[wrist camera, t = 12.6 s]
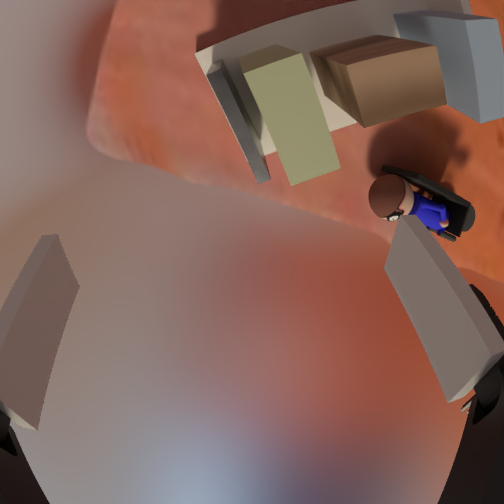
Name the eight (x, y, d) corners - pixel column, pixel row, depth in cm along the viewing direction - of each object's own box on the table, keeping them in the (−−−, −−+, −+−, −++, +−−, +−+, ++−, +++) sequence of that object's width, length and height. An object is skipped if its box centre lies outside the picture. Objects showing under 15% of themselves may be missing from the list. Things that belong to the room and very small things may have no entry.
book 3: (392, 14, 21) (464, 20, 13) (421, 10, 21) (497, 18, 12) (412, 87, 26) (480, 123, 18) (438, 81, 26) (509, 115, 17)
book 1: (237, 57, 24) (243, 73, 16) (275, 44, 24) (301, 52, 15) (271, 132, 29) (291, 186, 21) (305, 120, 29) (340, 168, 20)
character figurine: (433, 224, 40) (351, 187, 36) (463, 185, 35) (383, 136, 31) (457, 264, 34) (372, 230, 30) (493, 222, 30) (413, 172, 26)
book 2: (308, 52, 24) (346, 65, 17) (376, 34, 23) (436, 45, 15) (324, 95, 27) (364, 128, 19) (388, 76, 26) (447, 104, 18)
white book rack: (196, 52, 25) (186, 59, 19) (421, -9, 20) (466, -9, 14) (246, 156, 32) (251, 191, 26) (446, 91, 28) (487, 113, 22)
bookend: (211, 63, 24) (205, 75, 18) (222, 58, 24) (220, 69, 18) (251, 146, 30) (258, 183, 24) (261, 142, 30) (270, 179, 24)
